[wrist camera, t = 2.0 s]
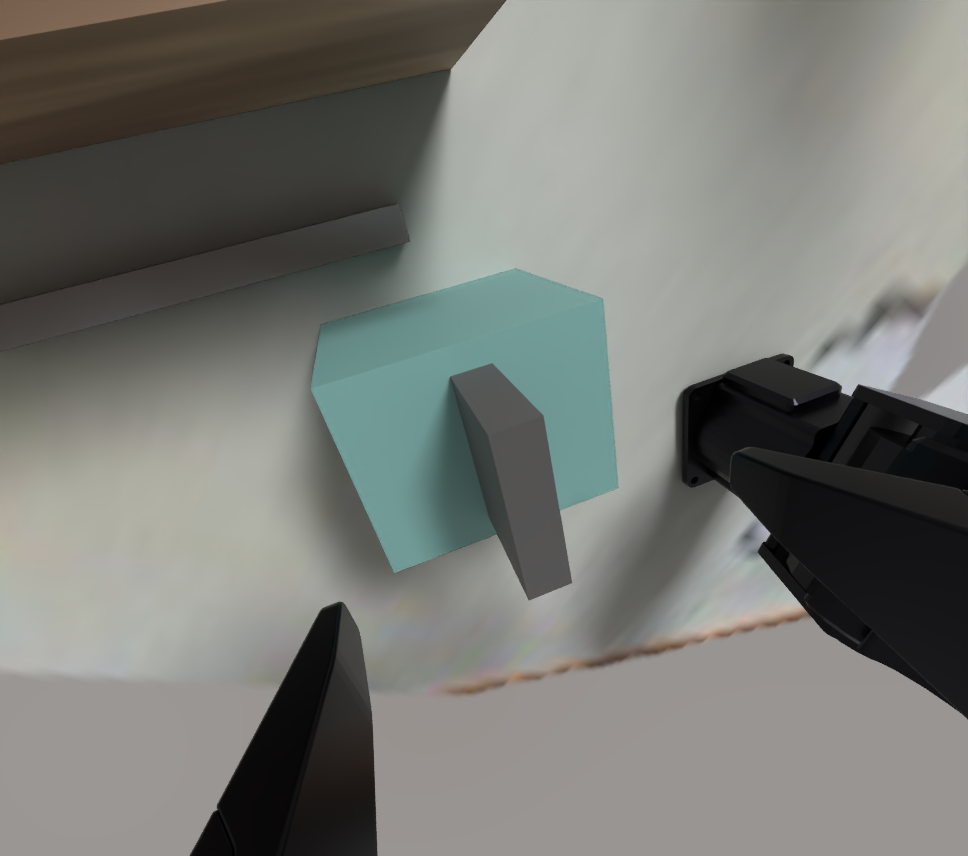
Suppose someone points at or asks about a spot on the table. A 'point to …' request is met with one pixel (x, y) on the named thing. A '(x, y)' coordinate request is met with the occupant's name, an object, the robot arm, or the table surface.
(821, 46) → the table surface
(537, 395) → the teal handled box
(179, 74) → the brown wooden beam
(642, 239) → the table surface
